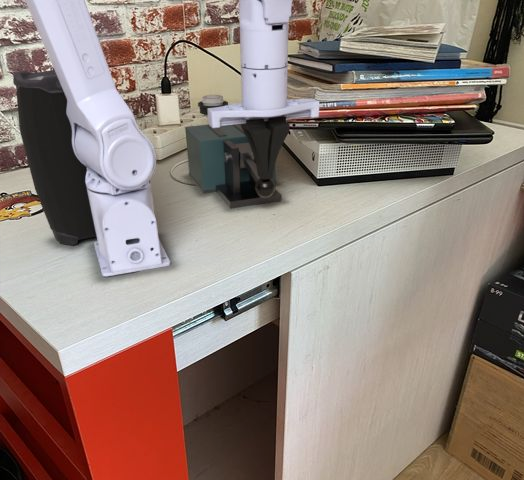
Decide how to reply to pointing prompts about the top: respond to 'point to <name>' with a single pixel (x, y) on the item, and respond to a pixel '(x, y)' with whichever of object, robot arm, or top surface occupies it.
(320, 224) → the top surface
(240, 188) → the lever bracket
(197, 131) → the toaster body
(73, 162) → the portable speaker
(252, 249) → the top surface
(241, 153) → the toaster lever
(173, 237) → the top surface
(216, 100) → the push button
